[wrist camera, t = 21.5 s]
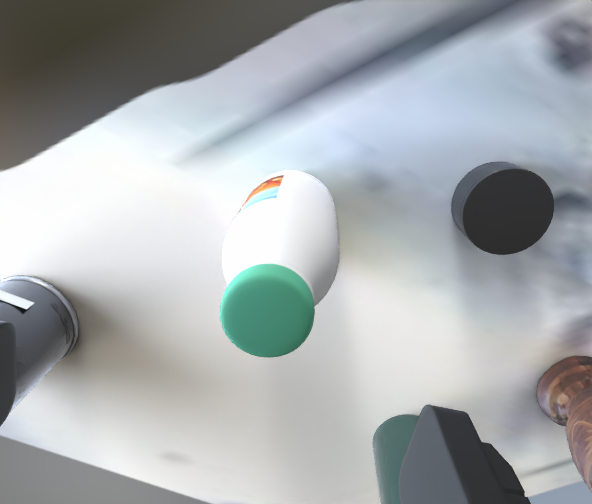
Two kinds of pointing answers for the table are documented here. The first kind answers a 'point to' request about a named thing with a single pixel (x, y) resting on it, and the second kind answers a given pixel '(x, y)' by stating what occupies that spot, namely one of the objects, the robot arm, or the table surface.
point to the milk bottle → (278, 263)
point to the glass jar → (391, 454)
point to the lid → (502, 207)
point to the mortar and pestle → (571, 407)
